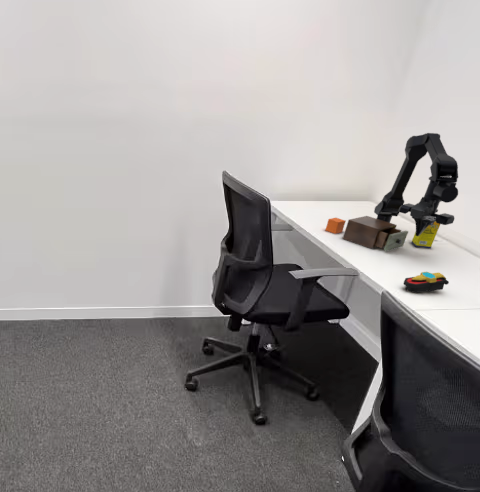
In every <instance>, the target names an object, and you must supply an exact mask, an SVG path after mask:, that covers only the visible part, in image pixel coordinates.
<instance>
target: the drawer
mask: <svg viewBox="0 0 480 492" xmlns="http://www.w3.org/2000/svg"><path fill="white" fill-rule="evenodd" d="M408 234H409V231H408V230H403V231H402V230H401V229H399V228H389V229H385V230H381V231H379V233H378V236H377V238H376V241H375V244H374V245H375V246H377V248H381V249H383V251H385V252H388V251H392V250H395V249H399V248H403V246H404V244H405V242H406V239H407V237H408Z"/></svg>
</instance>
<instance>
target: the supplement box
mask: <svg viewBox="0 0 480 492" xmlns="http://www.w3.org/2000/svg"><path fill="white" fill-rule="evenodd" d="M440 227H441V224H439V223H436V222H432V223H431V224H430V225H429V226H428V227H427V228H426V229H425V230H424V231H423V232H422V233H421V234H420V236H416V231H414V234H413V237H412V239H411V242H410V243H411V244H412V245H413V246H414V247H415V248H421V249H431V248H432V246H433V244H434V241H435V239H436V236H437V234H438V231H439V229H440Z"/></svg>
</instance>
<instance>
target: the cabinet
mask: <svg viewBox="0 0 480 492" xmlns="http://www.w3.org/2000/svg"><path fill="white" fill-rule="evenodd" d="M389 228H395V229H397V224H395V223H392V222H390V223H389V222H385V221H382V220H379V219H377V217H372V216H369V215H364V216H359V217H355V218H351V219H350V218H349V219H348V220H347V224H346V227H345V230H344V233H343V237H342V240H345V241H348V242H350V243H354V244H356V245H359V246H362V247H366V248H367V249H371V250H373V249H378V247H377V246H375V245H374V244H375V241H376V238H377V236H378V233H379V231H381V230H385V229H389Z"/></svg>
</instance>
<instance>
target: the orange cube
mask: <svg viewBox="0 0 480 492" xmlns="http://www.w3.org/2000/svg"><path fill="white" fill-rule="evenodd" d="M345 224H346V220H345V219H341V218H338V217H331V218H328V220H327V223H326V226H325V232H329V233H332V234H334V235H336V234H341V233H343V232H344V228H345Z"/></svg>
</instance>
